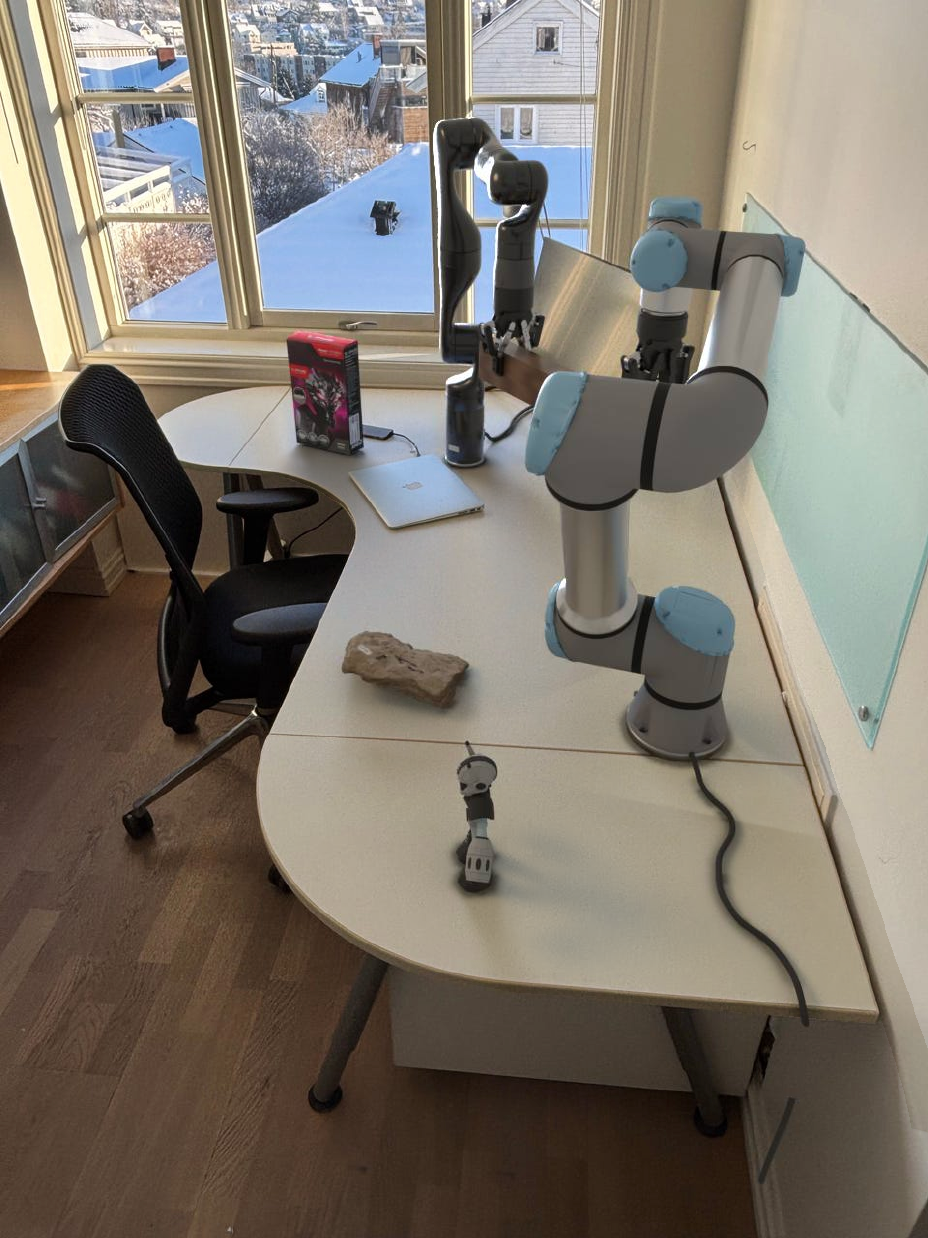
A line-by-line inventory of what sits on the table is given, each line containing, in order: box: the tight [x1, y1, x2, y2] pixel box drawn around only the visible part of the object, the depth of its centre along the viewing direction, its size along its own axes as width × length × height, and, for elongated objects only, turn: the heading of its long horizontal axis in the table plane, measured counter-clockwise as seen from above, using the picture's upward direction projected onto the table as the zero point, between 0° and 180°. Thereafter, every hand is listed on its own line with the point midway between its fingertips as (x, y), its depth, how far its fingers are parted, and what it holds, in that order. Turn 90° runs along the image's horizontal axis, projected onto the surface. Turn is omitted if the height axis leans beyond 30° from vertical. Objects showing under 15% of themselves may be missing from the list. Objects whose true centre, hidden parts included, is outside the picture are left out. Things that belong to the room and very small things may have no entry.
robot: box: [455, 740, 498, 893], centre depth 114 cm, size 20×5×20 cm, turn 3°
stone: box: [341, 630, 470, 709], centre depth 151 cm, size 21×15×6 cm
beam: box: [479, 337, 576, 409], centre depth 164 cm, size 53×5×7 cm, turn 33°
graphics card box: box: [285, 330, 365, 456], centre depth 225 cm, size 17×7×27 cm, turn 62°
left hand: (510, 372), depth 178 cm, fingers closed on beam, 5 cm apart
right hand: (646, 453), depth 152 cm, fingers closed on beam, 5 cm apart
